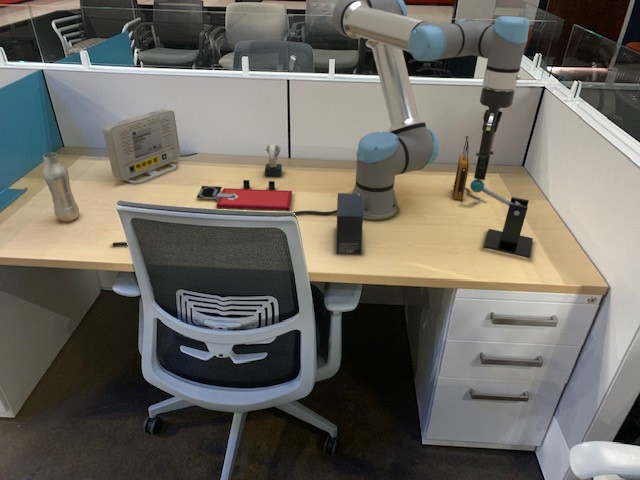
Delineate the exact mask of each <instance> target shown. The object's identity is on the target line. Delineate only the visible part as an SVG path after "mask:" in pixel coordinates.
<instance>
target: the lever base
mask: <svg viewBox="0 0 640 480" xmlns="http://www.w3.org/2000/svg"><path fill="white" fill-rule="evenodd" d="M510 201H511V202H512V203H515V201H518V202H519V203H521V204H523V205H525V206H523V205H517V204H512V203H510V205H509V206H508V209H507V213H506V216H505V221H504V225H503V228H502V230H497V229H493V228H488V230H487V233H486V237H485V241H484V243H483V248H484V249H488V250H492V251H497V252H500V253H505V254H510V255H515V256H517V257H523V258H527V259H531V256H532V248H533V240H534V238H533V237H529V236H524V235H521V233H522V230H523V226H524V222H525V219H526V215H527V212H528V208H529V202H530V200H529V199H525V198H520V197H514V196H511V198H510Z"/></svg>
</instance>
